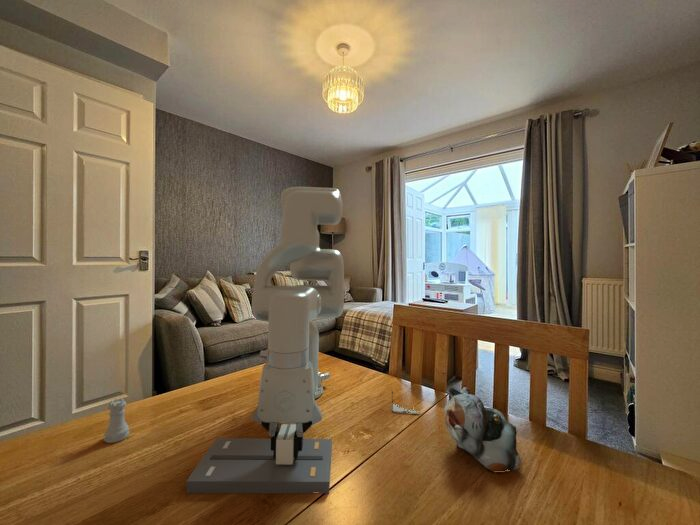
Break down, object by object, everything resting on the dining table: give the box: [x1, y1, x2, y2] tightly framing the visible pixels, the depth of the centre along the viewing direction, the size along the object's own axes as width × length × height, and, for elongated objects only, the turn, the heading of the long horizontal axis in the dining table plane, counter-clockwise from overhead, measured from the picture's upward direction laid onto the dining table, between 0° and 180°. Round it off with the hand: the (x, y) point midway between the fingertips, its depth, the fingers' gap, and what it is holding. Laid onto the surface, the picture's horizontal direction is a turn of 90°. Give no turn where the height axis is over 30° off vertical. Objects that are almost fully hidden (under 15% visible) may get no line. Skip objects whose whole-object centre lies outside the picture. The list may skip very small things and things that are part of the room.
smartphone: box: [391, 402, 421, 414], centre depth 85 cm, size 7×1×15 cm
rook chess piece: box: [103, 398, 131, 444], centre depth 65 cm, size 4×4×8 cm
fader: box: [276, 423, 296, 464], centre depth 57 cm, size 3×5×5 cm, turn 1°
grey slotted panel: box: [185, 437, 333, 494], centre depth 57 cm, size 24×12×2 cm, turn 91°
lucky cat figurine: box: [443, 387, 521, 472], centre depth 63 cm, size 15×12×14 cm
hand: (286, 452), depth 57 cm, fingers closed on fader, 3 cm apart
